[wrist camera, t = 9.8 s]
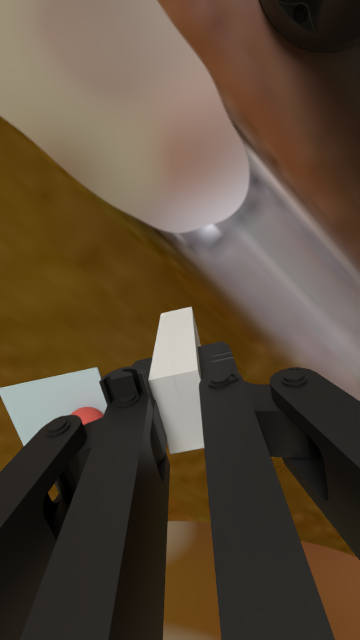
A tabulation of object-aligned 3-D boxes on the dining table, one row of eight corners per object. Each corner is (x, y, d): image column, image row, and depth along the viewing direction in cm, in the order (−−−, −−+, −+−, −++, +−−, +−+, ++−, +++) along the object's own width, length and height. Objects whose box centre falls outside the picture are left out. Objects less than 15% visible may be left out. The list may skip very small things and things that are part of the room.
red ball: (74, 428, 39) (49, 419, 43) (89, 465, 41) (63, 453, 44) (109, 402, 43) (83, 395, 46) (120, 437, 45) (95, 428, 48)
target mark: (97, 367, 44) (97, 367, 44) (127, 452, 48) (126, 453, 48) (-2, 388, 45) (-3, 389, 45) (35, 469, 49) (35, 470, 49)
